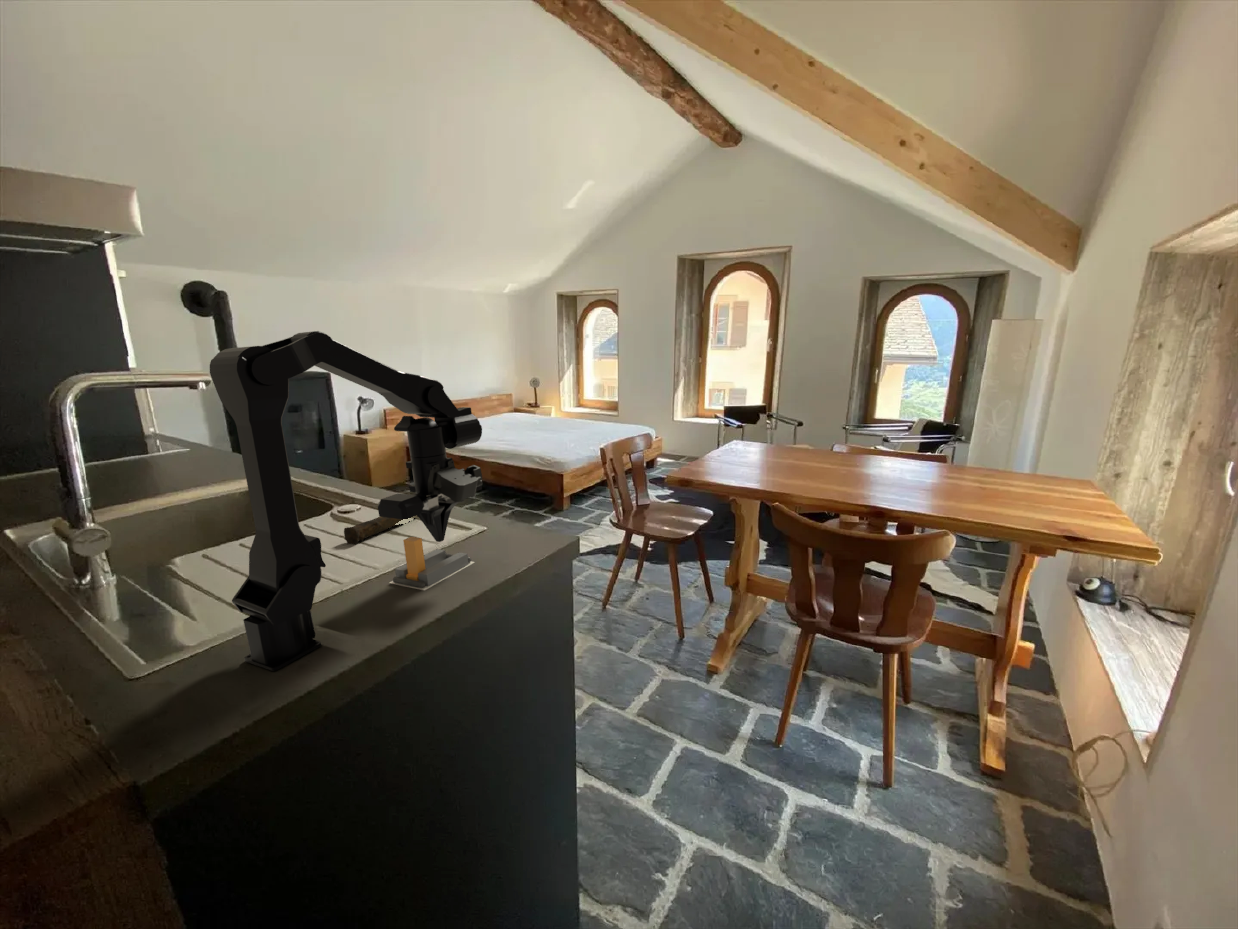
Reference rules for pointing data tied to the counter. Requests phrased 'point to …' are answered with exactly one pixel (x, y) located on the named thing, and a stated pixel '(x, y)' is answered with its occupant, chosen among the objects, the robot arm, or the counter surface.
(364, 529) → the dark brown rod
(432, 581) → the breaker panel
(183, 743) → the counter surface
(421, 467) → the robot arm
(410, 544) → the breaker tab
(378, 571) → the counter surface
